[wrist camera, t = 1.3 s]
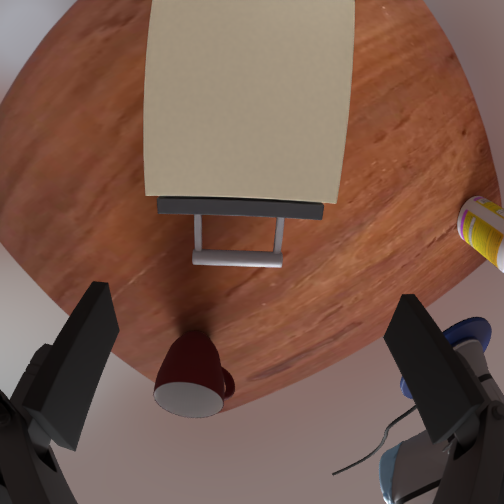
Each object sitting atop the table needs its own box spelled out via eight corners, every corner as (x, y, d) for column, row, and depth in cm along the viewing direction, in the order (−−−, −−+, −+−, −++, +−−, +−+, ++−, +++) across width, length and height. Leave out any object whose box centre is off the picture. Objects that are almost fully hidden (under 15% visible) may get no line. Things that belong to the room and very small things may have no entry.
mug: (252, 342, 38) (256, 403, 29) (221, 372, 41) (220, 429, 32) (182, 309, 35) (169, 371, 26) (157, 344, 38) (143, 402, 29)
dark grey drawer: (296, 248, 30) (310, 284, 24) (177, 243, 30) (163, 280, 24) (317, 48, 21) (341, 32, 15) (179, 41, 20) (161, 21, 14)
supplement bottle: (463, 248, 33) (519, 300, 21) (449, 215, 30) (515, 266, 19) (490, 218, 31) (549, 262, 19) (479, 184, 28) (547, 224, 17)
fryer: (309, 175, 28) (336, 203, 20) (171, 169, 27) (145, 195, 19) (322, 27, 20) (355, 0, 13) (178, 18, 19) (154, -14, 12)
